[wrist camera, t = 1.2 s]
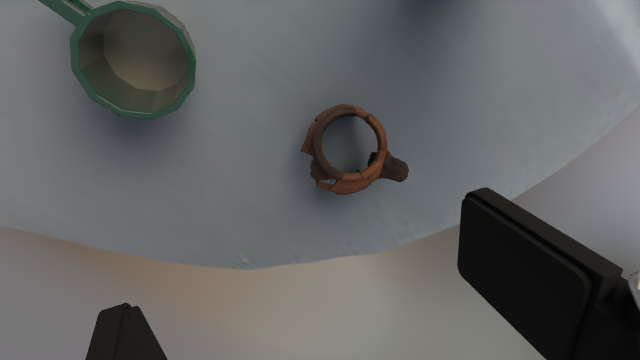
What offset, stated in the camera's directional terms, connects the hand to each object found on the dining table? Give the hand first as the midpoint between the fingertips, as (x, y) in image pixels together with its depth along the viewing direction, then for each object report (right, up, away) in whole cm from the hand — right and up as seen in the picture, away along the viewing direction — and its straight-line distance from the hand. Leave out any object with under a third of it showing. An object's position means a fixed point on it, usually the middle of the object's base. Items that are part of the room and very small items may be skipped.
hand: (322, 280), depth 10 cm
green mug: (-16, +15, +19) cm, 29 cm away
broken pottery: (+3, +7, +30) cm, 31 cm away
